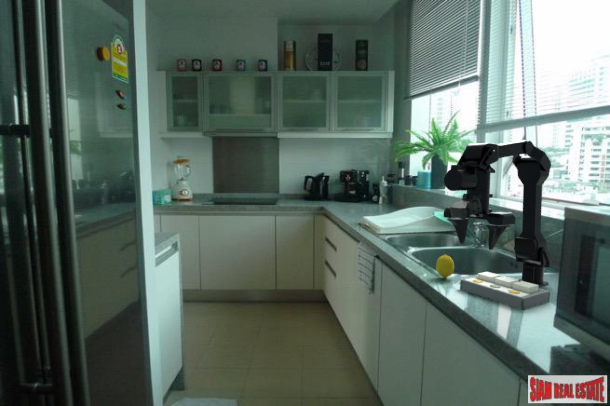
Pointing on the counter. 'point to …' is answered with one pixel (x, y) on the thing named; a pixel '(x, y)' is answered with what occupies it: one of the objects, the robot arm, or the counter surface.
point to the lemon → (445, 266)
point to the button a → (487, 276)
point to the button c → (525, 287)
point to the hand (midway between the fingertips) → (475, 246)
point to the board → (504, 293)
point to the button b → (505, 281)
